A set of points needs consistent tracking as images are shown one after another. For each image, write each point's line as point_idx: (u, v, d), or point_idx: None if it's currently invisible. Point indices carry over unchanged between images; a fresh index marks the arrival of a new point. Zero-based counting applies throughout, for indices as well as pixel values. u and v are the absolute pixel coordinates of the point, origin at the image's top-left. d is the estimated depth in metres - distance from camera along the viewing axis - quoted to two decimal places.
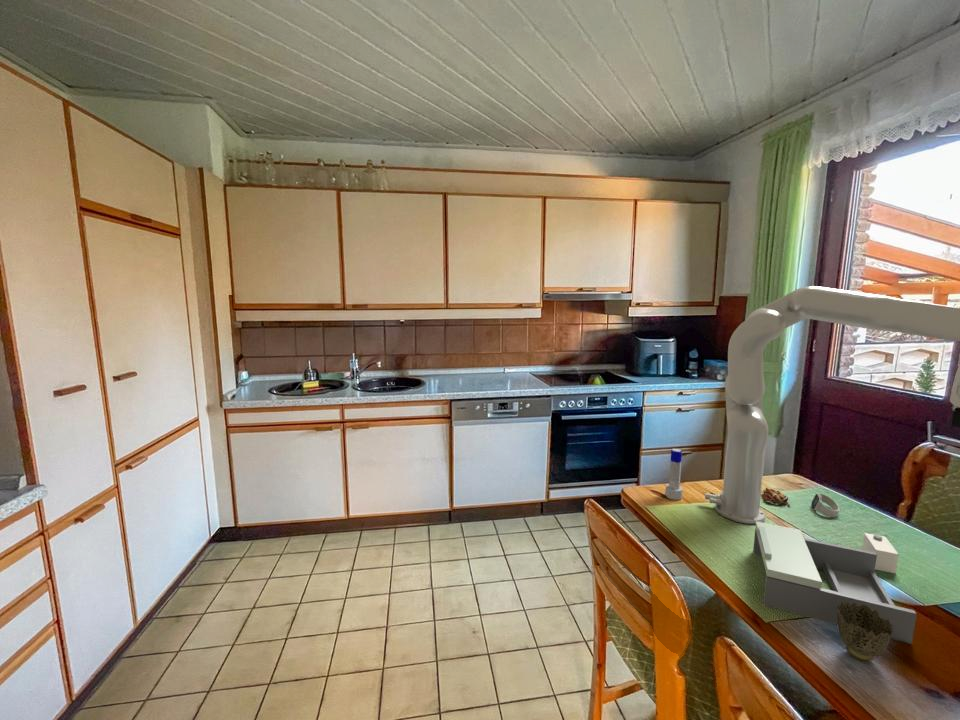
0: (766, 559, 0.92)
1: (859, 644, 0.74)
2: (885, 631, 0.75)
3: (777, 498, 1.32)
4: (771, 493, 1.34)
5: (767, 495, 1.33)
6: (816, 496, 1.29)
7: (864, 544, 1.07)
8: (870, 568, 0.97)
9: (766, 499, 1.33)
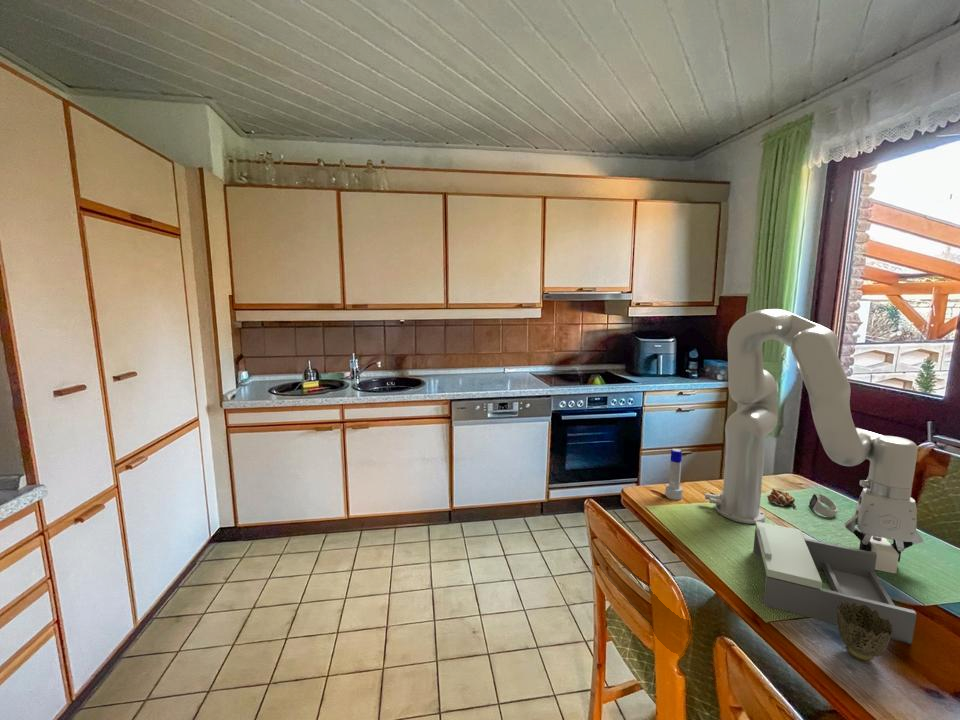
0: (766, 559, 0.92)
1: (859, 644, 0.74)
2: (885, 631, 0.75)
3: (783, 499, 1.31)
4: (777, 494, 1.33)
5: (773, 496, 1.33)
6: (814, 496, 1.29)
7: None
8: (870, 568, 0.97)
9: (771, 500, 1.33)
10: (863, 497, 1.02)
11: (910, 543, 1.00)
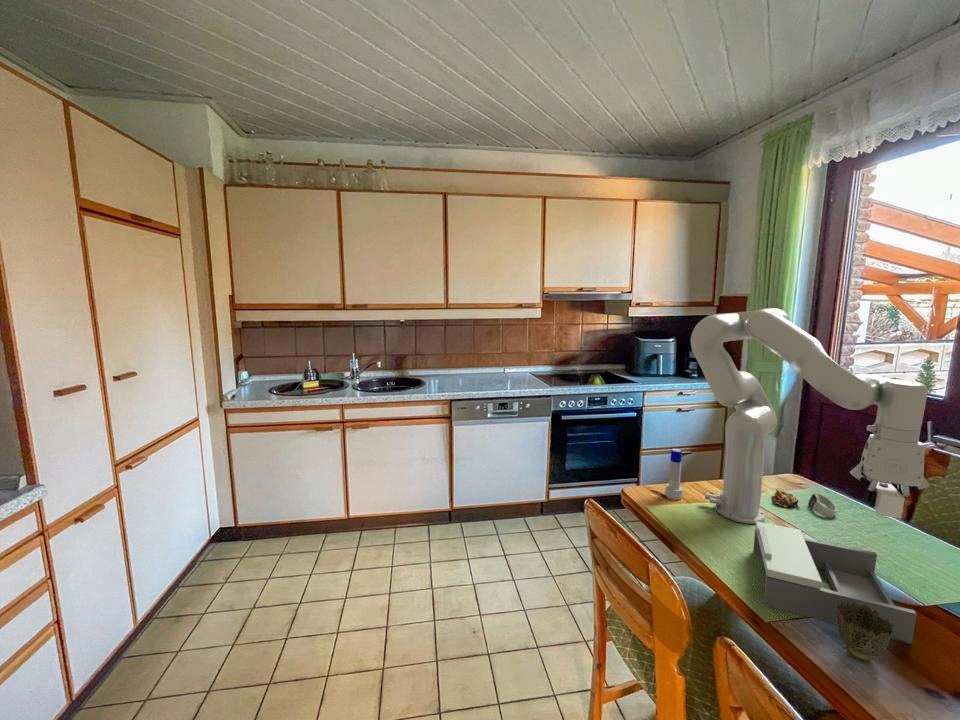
0: (766, 559, 0.92)
1: (859, 644, 0.74)
2: (885, 631, 0.75)
3: (786, 500, 1.30)
4: (781, 495, 1.33)
5: (776, 497, 1.32)
6: (813, 496, 1.29)
7: None
8: (870, 568, 0.97)
9: (775, 500, 1.32)
10: (870, 442, 1.00)
11: (915, 488, 0.98)
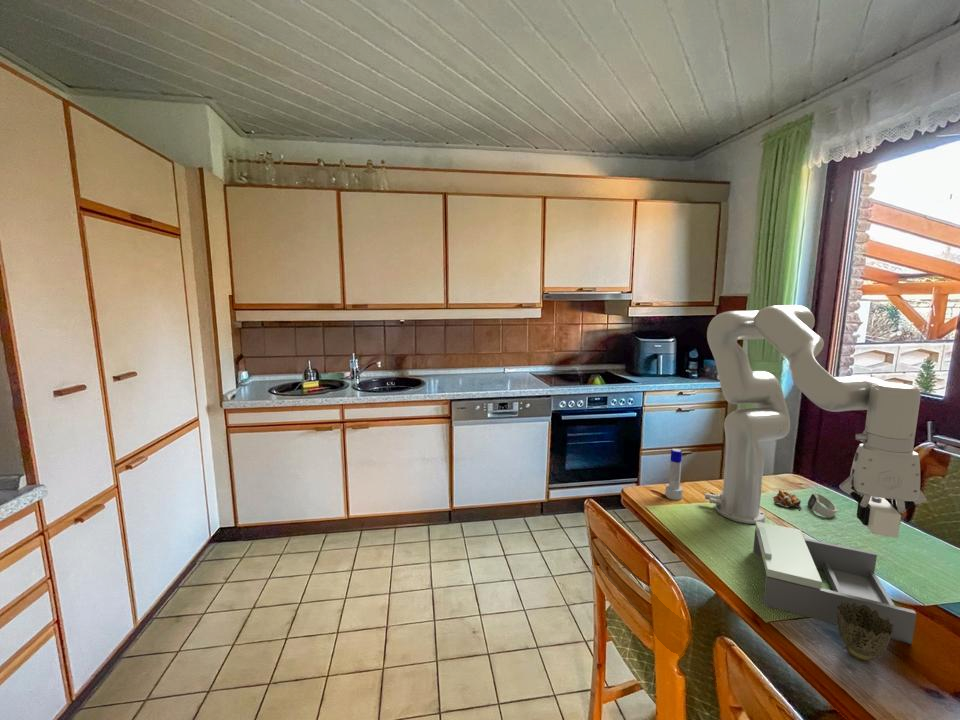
0: (766, 559, 0.92)
1: (859, 644, 0.74)
2: (885, 631, 0.75)
3: (788, 501, 1.30)
4: (783, 495, 1.32)
5: (778, 497, 1.32)
6: (813, 496, 1.29)
7: None
8: (870, 568, 0.97)
9: (776, 501, 1.32)
10: (860, 453, 0.90)
11: (912, 503, 0.88)
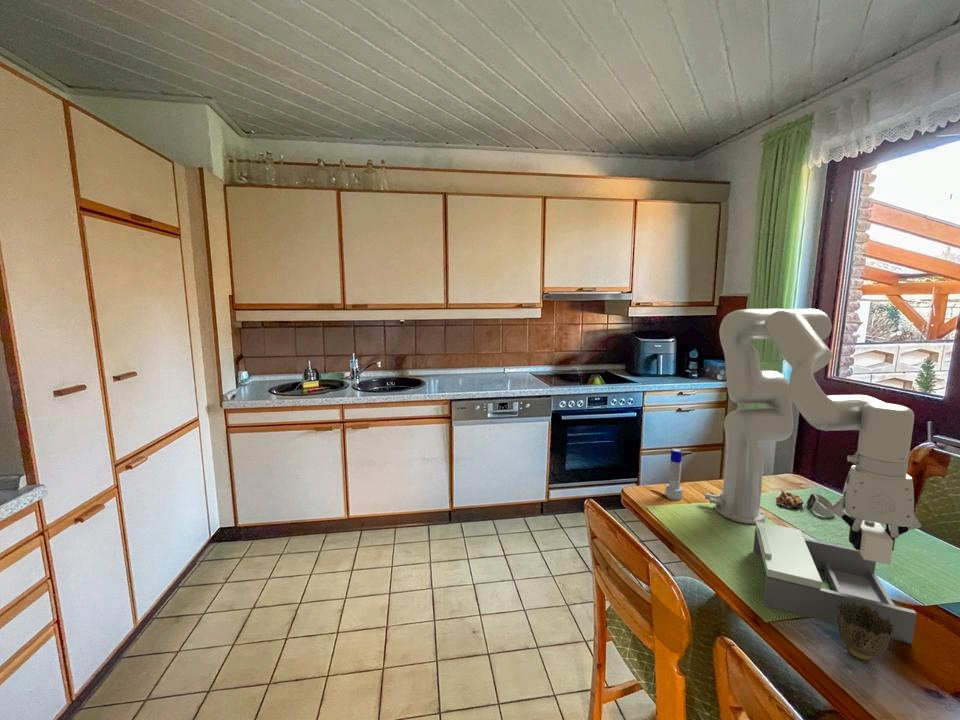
0: (766, 559, 0.92)
1: (859, 644, 0.74)
2: (885, 631, 0.75)
3: (790, 501, 1.30)
4: (785, 496, 1.32)
5: (780, 497, 1.32)
6: (812, 496, 1.29)
7: None
8: (870, 568, 0.97)
9: (778, 501, 1.32)
10: (851, 475, 0.87)
11: (905, 528, 0.85)
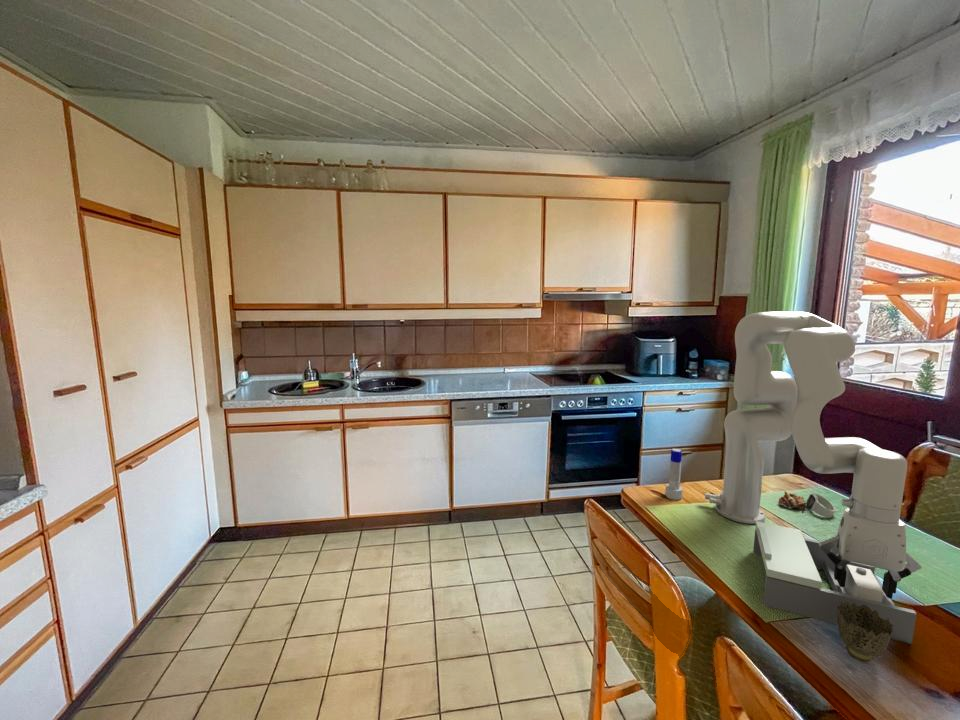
0: (766, 559, 0.92)
1: (859, 644, 0.74)
2: (885, 631, 0.75)
3: (792, 502, 1.29)
4: (788, 497, 1.32)
5: (782, 498, 1.31)
6: (811, 496, 1.29)
7: (846, 577, 0.94)
8: (870, 568, 0.97)
9: (780, 502, 1.31)
10: (845, 519, 0.89)
11: (908, 572, 0.86)
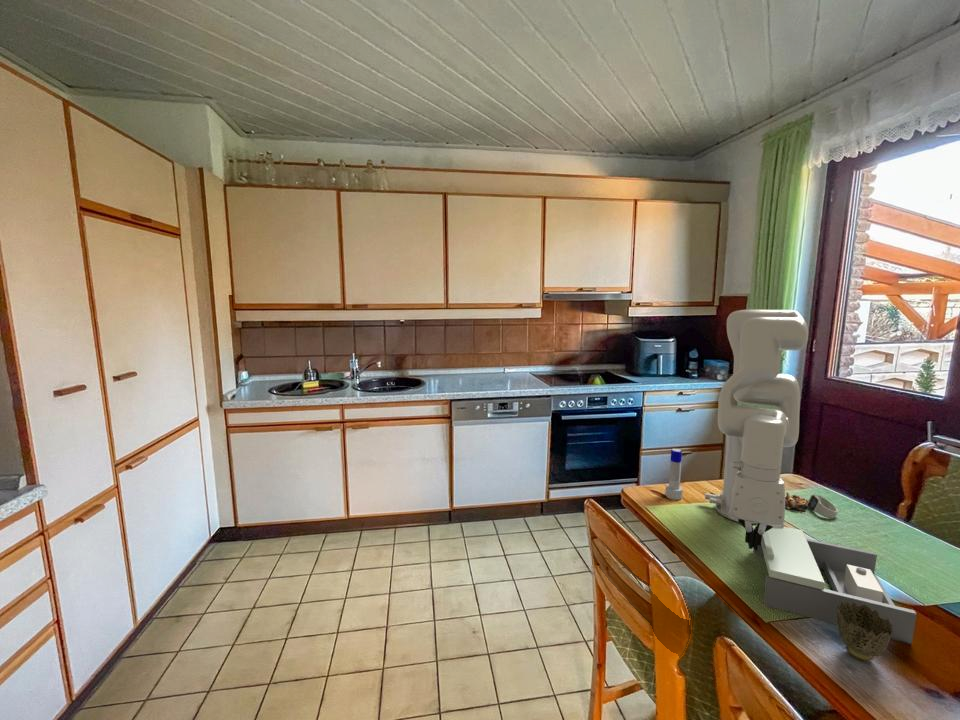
0: (768, 560, 0.91)
1: (859, 644, 0.74)
2: (885, 631, 0.75)
3: (791, 502, 1.29)
4: (788, 497, 1.31)
5: None
6: (813, 497, 1.28)
7: (846, 577, 0.94)
8: (870, 568, 0.97)
9: None
10: (735, 479, 0.97)
11: (770, 526, 0.96)
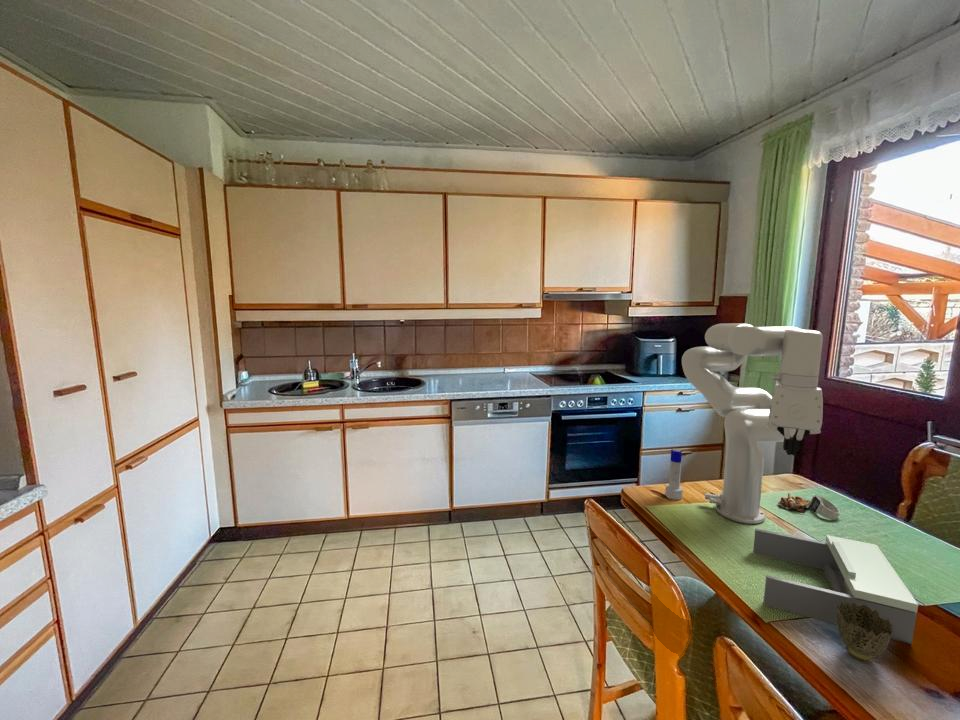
0: (850, 578, 0.85)
1: (859, 644, 0.74)
2: (885, 631, 0.75)
3: (790, 503, 1.29)
4: (789, 498, 1.31)
5: (782, 498, 1.31)
6: (815, 499, 1.27)
7: None
8: None
9: (779, 502, 1.31)
10: (774, 390, 1.05)
11: (808, 432, 1.03)
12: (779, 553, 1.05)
